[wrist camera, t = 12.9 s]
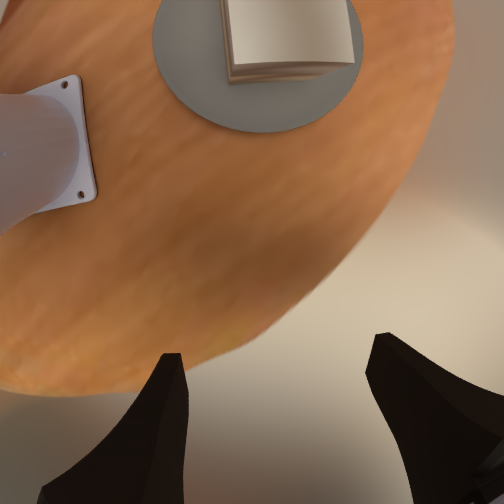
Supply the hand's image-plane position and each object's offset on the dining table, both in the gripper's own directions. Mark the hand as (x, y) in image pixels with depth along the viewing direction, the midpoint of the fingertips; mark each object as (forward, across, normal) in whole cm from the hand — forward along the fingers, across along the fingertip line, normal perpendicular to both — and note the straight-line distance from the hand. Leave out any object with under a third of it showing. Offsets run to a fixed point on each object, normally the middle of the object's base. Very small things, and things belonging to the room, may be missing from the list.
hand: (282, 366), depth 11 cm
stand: (+10, 0, -13) cm, 17 cm away
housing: (+8, 0, -13) cm, 15 cm away
